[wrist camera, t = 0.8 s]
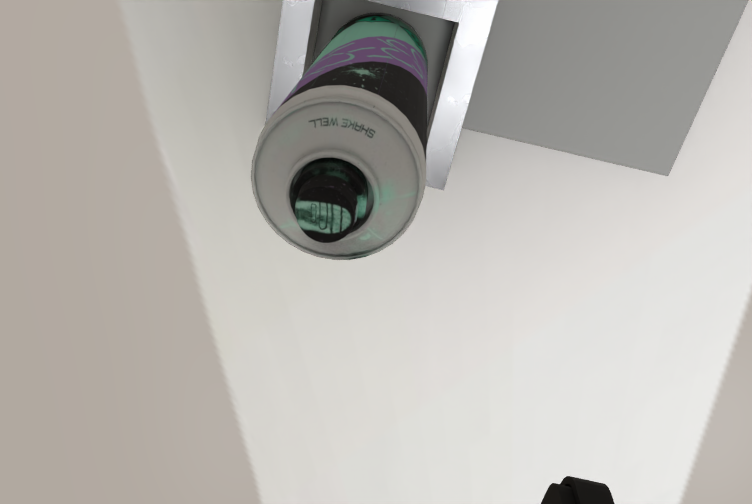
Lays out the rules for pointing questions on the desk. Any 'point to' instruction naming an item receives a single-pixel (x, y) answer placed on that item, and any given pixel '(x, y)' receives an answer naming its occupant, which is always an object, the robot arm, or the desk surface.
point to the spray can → (348, 144)
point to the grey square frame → (472, 25)
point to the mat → (601, 75)
